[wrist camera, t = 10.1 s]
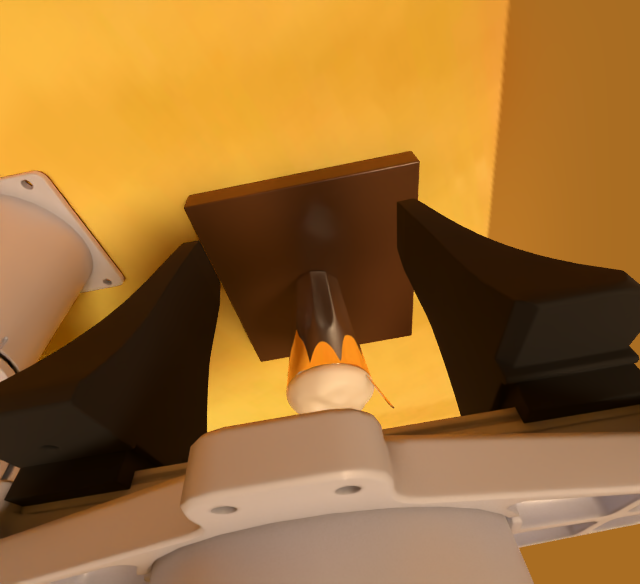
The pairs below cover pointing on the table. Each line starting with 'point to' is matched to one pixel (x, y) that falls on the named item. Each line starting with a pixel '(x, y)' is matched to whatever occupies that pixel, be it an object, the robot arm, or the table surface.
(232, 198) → the board
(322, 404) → the milkshake
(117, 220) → the table surface
